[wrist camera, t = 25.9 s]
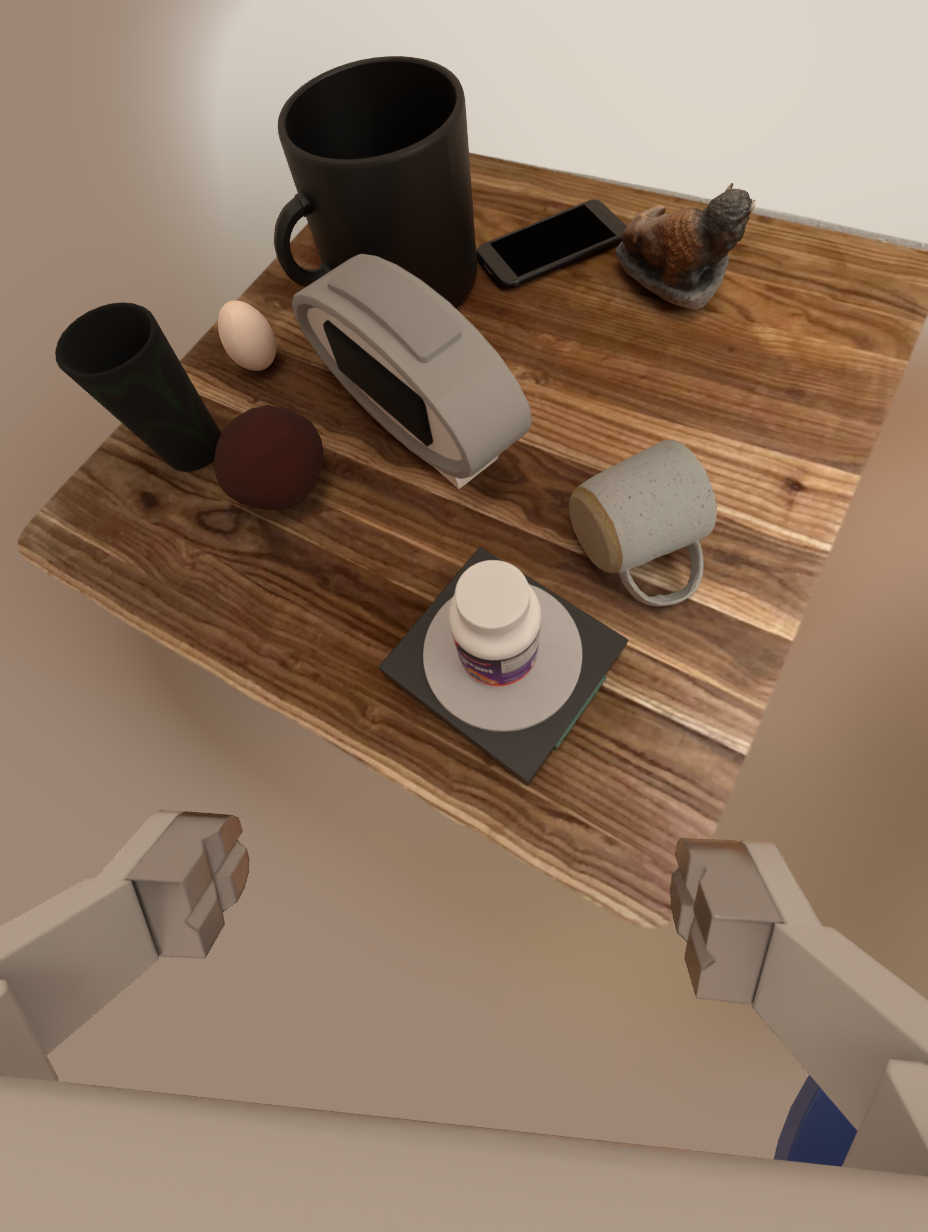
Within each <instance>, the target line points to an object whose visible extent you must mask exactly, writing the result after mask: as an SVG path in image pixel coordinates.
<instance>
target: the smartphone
mask: <svg viewBox="0 0 928 1232" xmlns="http://www.w3.org/2000/svg"><path fill="white" fill-rule="evenodd" d="M626 227H627V226H626V225H625V224H624V223H623V222H622V221H621V220H620V219H619V218H618V217H617V216H615V215H614V214H613V213H612V212H611V211H610V210H609V209H608V208H607V207H606V206H605V205H604V204H603V203H602V202H600V201H599V200H589V201H586V202H584V203H582V204H579V205H577V206H574V207H572V208H569V209H567V210H565V211H562V212H560V213H557V214H555V215H552V216H550V217H548V218H545V219H543V220H540V221H538V222H535V223H533V224H531V225H528V226H526V227H523V228H521V229H518V230H516V231H514V232H511V233H509V234H506V235H504V236H501V237H499V238H497V239H494V240H492V241H489V242H487V243H485V244H482V245H481V246H480V247H479V248H478V249H477V253H476V254H477V258H478V259H479V260H480V262H481V263H482V264H483V265H484V267H485V268H486V269H487V270H488V272H489V273H490V274H491V275H492V277H493V278H494V279H495V280H496V282H497V283H498V284H499V285H500V286H502V287H504V288H512V287H515V286H518V285H520V284H523V283H525V282H527V281H530V280H532V279H534V278H537V277H539V276H542V275H544V274H546V273H549V272H551V271H553V270H556V269H558V268H561V267H563V266H565V265H568V264H570V263H572V262H575V261H577V260H580V259H582V258H584V257H587V256H589V255H591V254H594V253H596V252H599V251H601V250H603V249H606V248H608V247H610V246H613V245H615V244H617V243H620V242H622V241H623V240H622V239H623V231H624V230H625V229H626Z"/></svg>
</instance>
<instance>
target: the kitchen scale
mask: <svg viewBox="0 0 928 1232" xmlns="http://www.w3.org/2000/svg"><path fill="white" fill-rule="evenodd" d="M488 560H499V561H502V560H501V559H499V558H497V557H496V556H494V555H493V554H491V553H489V552H488V551H486V550H485V549H483V548H481V547H479V548H478V550H477V551H476V552H475V553H474V554H473V555H472V557H471V558H470V559H469V560H468V561H467V563H466V564H465V565H464V566H463V567H462V568H461V570H460V571H459V572H458V573H457V574H456V576H455V577H454V578H453V579H452V580H451V582H450V583H449V584H448V585H447V586H446V587H445V589H444V590H443V591H442V592H441V593H440V595H439V596H438V597H437V598H436V599H435V601H434V602H433V603H432V604H431V605H430V606H429V608H428V609H427V610H426V611H425V612H424V614H423V615H422V616H421V617H420V618H419V620H418V621H417V622H416V623H415V624H414V625H413V627H412V628H411V629H410V630H409V631H408V633H407V634H406V635H405V636H404V637H403V638H402V640H401V641H400V642H399V643H398V644H397V646H396V647H395V648H394V649H393V650H392V652H391V653H390V654H389V655H388V656H387V657H386V659H385V660H384V661H383V662H382V663H381V665H380V666H379V669H380V670H381V671H382V673H383V674H384V675H385V676H386V677H387V678H388V679H390V680H391V681H392V682H394V683H395V684H396V685H397V686H399V687H400V688H401V689H403V690H404V691H405V692H407V693H408V694H409V695H410V696H412V697H413V698H414V699H416V700H417V701H418V702H419V703H421V704H422V705H423V706H425V707H426V708H427V709H429V710H430V711H431V712H432V713H434V714H435V715H436V716H438V717H439V718H440V719H441V720H443V721H444V722H445V723H447V724H448V725H449V726H451V727H452V728H453V729H454V730H456V731H457V732H458V733H460V734H461V735H462V736H463V737H465V738H466V739H467V740H469V741H470V742H471V743H473V744H474V745H475V746H476V747H478V748H479V749H480V750H482V751H483V752H484V753H485V754H487V755H488V756H489V757H491V758H492V759H493V760H495V761H496V762H497V763H498V764H500V765H501V766H502V767H504V768H505V769H506V770H507V771H509V772H510V773H511V774H513V775H514V776H515V777H517V778H518V779H519V780H520V781H522V782H523V783H524V784H526V785H527V786H528V785H529V784H530V782H531V781H532V779H533V778H534V776H535V775H536V774H537V772H538V771H539V769H540V768H541V766H542V765H543V764H544V762H545V761H546V759H547V758H548V756H549V755H550V754H551V752H552V751H553V749H554V750H557V749H558V747H559V746H560V744H561V743H562V741H563V740H564V739H565V737H566V736H567V734H568V733H569V731H570V730H571V729H572V727H573V726H574V724H575V723H576V721H577V720H578V719H579V717H580V716H581V714H582V713H583V711H584V710H585V708H586V707H587V706H588V704H589V703H590V701H591V700H592V698H593V697H594V696H595V694H596V693H597V691H598V690H599V688H600V687H601V686H602V684H603V683H604V681H605V679H606V676H605V675H606V674H607V672H608V671H609V670H610V668H611V667H612V665H613V664H614V662H615V661H616V660H617V658H618V657H619V655H620V654H621V652H622V651H623V649H624V647H625V646H626V644H627V642H628V639H626V638H625V637H623V636H622V635H620V634H618V633H617V632H615V631H614V630H612V629H610V628H609V627H607V626H606V625H604V624H602V623H601V622H599V621H598V620H596V619H595V618H593V617H591V616H590V615H588V614H587V613H585V612H583V611H582V610H580V609H579V608H577V607H575V606H574V605H572V604H571V603H569V602H567V601H566V600H564V599H563V598H561V597H559V596H558V595H556V594H555V593H553V592H552V591H550V590H548V589H547V588H545V587H544V586H542V585H540V584H539V583H537V582H536V581H534V580H532V579H531V578H529V577H528V576H526V575H524V574H523V573H522V574H523V575H524V576H525V578H526V580H527V582H528V585H529V586H530V587H531V588H532V589H533V591H534V592H535V594H536V595H537V597H538V600H539V602H540V606H541V629H540V638H539V646H538V654H537V658H536V662H535V664H534V666H533V668H532V670H531V671H530V673H529V674H528V675H527V676H526V677H525V678H524V679H523V680H521V681H520V682H518V683H516V684H514V685H512V686H509V687H504V688H493V687H488V686H485V685H482V684H480V683H478V682H477V681H475V680H474V679H473V678H471V677H470V676H469V675H468V673H467V672H466V671H465V669H464V668H463V666H462V664H461V661H460V658H459V655H458V652H457V649H456V646H455V643H454V639H453V636H452V633H451V630H450V625H449V607H450V603H451V601H452V598H453V596H454V594H455V589H456V585H457V583H458V580H459V579H460V577H461V576H462V574H463V573H464V572H465V571H466V570H467V569H468V568H470V567H471V566H473V565H475V564H477V563H479V562H482V561H488ZM503 562H504V561H503Z"/></svg>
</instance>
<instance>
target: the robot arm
mask: <svg viewBox="0 0 928 1232" xmlns="http://www.w3.org/2000/svg"><path fill="white" fill-rule="evenodd" d="M241 833H242V828H241V824H240V820H239V818H238V817H236V816H233V815H224V814H211V813H199V812H186V811H185V812H178V811H166V810H160V811H158V812H156V813H154V814H152V815H151V816H150V817H149V818H148V819H147V821H146V822H145V823H144V824H143V825H142V826H141V827H140V829H139V830H138V831H137V832H136V833H135V834H134V835H133V837H132V838H131V839H130V840H129V841H128V842H127V843H126V844H125V845H124V847H123V848H122V849H121V850H120V851H119V852H118V853H117V854H116V856H115V857H114V858H113V859H112V860H111V861H110V862H109V864H108V865H107V866H106V867H105V868H104V869H103V870H102V871H101V872H100V874H99V875H98V876H97V877H96V878H86V879H84V880H83V881H81V882H79V883H77V884H75V885H74V886H72V887H70V888H68V889H67V890H65V891H63V892H61V893H59V894H58V895H56V896H54V897H52V898H50V899H49V900H47V901H45V902H43V903H42V904H40V905H38V906H36V907H34V908H33V909H31V910H29V911H27V912H25V913H24V914H22V915H20V916H18V917H16V918H15V919H13V920H11V921H9V922H7V923H6V924H4V925H2V926H0V1232H928V1000H926V999H925V998H924V997H923V996H921V995H920V994H919V993H917V992H916V991H914V990H913V989H912V988H911V987H909V986H908V985H907V984H906V983H904V982H903V981H902V980H900V979H899V978H898V977H896V976H895V975H894V974H893V973H891V972H890V971H888V970H887V969H886V968H885V967H883V966H882V965H881V964H879V963H878V962H877V961H876V960H874V959H873V958H872V957H870V956H869V955H868V954H866V953H865V952H864V951H862V950H861V949H860V948H859V947H857V946H856V945H855V944H853V943H852V942H851V941H850V940H848V939H847V938H845V937H844V936H843V935H841V934H840V933H839V932H838V931H836V930H835V929H834V928H832V927H824V926H822V925H821V923H820V922H819V920H818V918H817V917H816V915H815V913H814V911H813V909H812V908H811V906H810V904H809V902H808V901H807V899H806V897H805V895H804V894H803V892H802V890H801V889H800V887H799V885H798V883H797V881H796V880H795V878H794V876H793V874H792V873H791V871H790V869H789V867H788V866H787V864H786V862H785V861H784V859H783V857H782V855H781V854H780V852H779V850H778V848H777V847H776V846H775V845H774V844H773V843H772V842H767V841H742V840H741V841H737V840H715V839H692V838H680V839H679V841H678V843H677V847H676V852H675V856H676V859H677V862H678V865H679V868H678V869H677V870H676V871H675V872H674V873H673V874H672V879H671V887H670V893H671V908H672V913H673V919H674V923H675V925H676V930H677V933H678V934H679V935H680V936H681V937H682V938H683V939H684V940H685V941H686V942H687V947H686V952H685V961H686V964H687V968H688V971H689V974H690V978H691V981H692V985H693V988H694V991H695V995H696V998H697V999H706V1000H715V1001H724V1002H732V1003H742V1004H751V1005H753V1007H752V1008H753V1009H754V1010H755V1011H756V1012H757V1014H758V1015H759V1016H760V1017H761V1018H762V1020H763V1021H764V1022H765V1023H766V1024H767V1025H768V1027H769V1028H770V1029H771V1030H772V1031H773V1033H774V1034H775V1035H776V1036H777V1037H778V1038H779V1039H780V1041H781V1042H782V1043H783V1044H784V1045H785V1047H786V1048H787V1049H788V1050H789V1051H790V1052H791V1054H792V1055H793V1056H794V1057H795V1058H796V1059H797V1061H798V1062H799V1063H800V1064H801V1065H802V1067H803V1068H804V1069H805V1070H806V1071H807V1072H808V1074H809V1075H810V1076H811V1077H812V1078H813V1079H814V1081H815V1082H816V1083H817V1084H818V1085H819V1086H820V1088H821V1089H822V1090H823V1091H824V1092H825V1094H826V1095H827V1096H828V1097H829V1098H830V1099H831V1101H832V1102H833V1103H834V1104H835V1105H836V1106H837V1108H838V1109H839V1110H840V1111H841V1112H842V1113H843V1115H844V1116H845V1117H846V1118H847V1119H848V1120H849V1122H850V1123H851V1124H852V1125H853V1126H854V1128H855V1129H856V1130H857V1133H856V1136H855V1138H854V1140H853V1142H852V1145H851V1147H850V1149H849V1151H848V1154H847V1156H846V1158H845V1160H844V1163H843V1165H842V1167H839V1166H829V1165H820V1164H811V1163H802V1162H793V1161H784V1160H774V1159H765V1158H756V1157H755V1158H754V1157H746V1156H738V1155H728V1154H719V1153H710V1152H701V1151H692V1150H682V1149H673V1148H664V1147H655V1146H646V1145H636V1144H627V1143H618V1142H609V1141H600V1140H591V1139H581V1138H573V1137H563V1136H554V1135H544V1134H536V1133H526V1132H517V1131H508V1130H499V1129H490V1128H482V1127H472V1126H463V1125H454V1124H445V1123H435V1122H426V1121H418V1120H408V1119H398V1118H388V1117H379V1116H371V1115H361V1114H352V1113H343V1112H334V1111H325V1110H315V1109H306V1108H296V1107H288V1106H279V1105H269V1104H260V1103H250V1102H242V1101H232V1100H223V1099H214V1098H205V1097H195V1096H186V1095H176V1094H168V1093H159V1092H150V1091H140V1090H132V1089H122V1088H113V1087H104V1086H95V1085H86V1084H77V1083H67V1082H58V1076H57V1075H56V1073H55V1071H54V1069H53V1067H52V1065H51V1063H50V1062H49V1060H48V1058H47V1055H48V1054H49V1053H50V1052H51V1051H52V1050H54V1048H56V1047H57V1046H58V1045H59V1044H61V1043H62V1042H63V1041H64V1040H65V1039H66V1038H68V1037H69V1036H70V1035H71V1034H72V1033H73V1032H75V1031H76V1030H77V1029H78V1028H79V1027H80V1026H82V1025H83V1024H84V1023H85V1022H86V1021H87V1020H89V1019H90V1018H91V1017H92V1016H93V1015H94V1014H96V1013H97V1012H98V1011H99V1010H100V1009H101V1008H103V1007H104V1006H105V1005H106V1004H107V1003H108V1002H110V1001H111V1000H112V999H113V998H114V997H116V996H117V995H118V994H119V993H120V992H121V991H123V990H124V989H125V988H126V987H127V986H128V985H130V984H131V983H132V982H133V981H134V980H135V979H136V978H138V977H139V976H140V975H141V974H142V973H143V972H145V971H146V970H147V969H148V968H149V967H151V966H152V965H153V964H154V963H155V962H156V961H157V960H159V957H158V956H162V957H184V958H203V959H204V958H206V956H207V954H208V953H209V951H210V949H211V947H212V946H213V944H214V942H215V940H216V939H217V937H218V935H219V933H220V931H221V930H222V928H223V926H224V924H225V923H224V917H223V912H224V911H225V910H227V909H228V908H230V907H231V906H232V905H233V904H235V903H236V902H237V901H238V899H239V897H240V896H241V894H242V892H243V890H244V888H245V884H246V881H247V877H248V873H249V856H248V852H247V849H246V848H245V847H244V846H243V845H242V844H241V843H240V842H239V841H238V840H237V839H238V838H239V836H240V834H241Z"/></svg>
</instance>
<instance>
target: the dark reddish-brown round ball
mask: <svg viewBox="0 0 928 1232" xmlns="http://www.w3.org/2000/svg"><path fill="white" fill-rule="evenodd" d="M322 463H323V447H322V442H321V438H320V436H319V434H318V432H317V430H316V429H315V427H314V426H313V424H312V423H311V422H310V421H309V420H307V419H306V418H304V417H302V416H301V415H299V414H297V413H296V412H294V411H292V410H291V409H287V408H281V407H275V406H269V405H266V406H262V407H257V408H252V409H250V410H248V411H246V412H245V413H243V414H241V415H240V416H238V417H236V418H235V419H233V421H232V422H231V423H230V424H229V425H228V426H227V427H226V428H225V429H224V430H223V432H222V434H221V436H220V438H219V440H218V443H217V447H216V451H215V461H214V467H215V473H216V477H217V480H218V482H219V484H220V486H221V488H222V489H223V491H224V492H225V493H226V494H227V495H228V496H229V497H231V498H232V499H234V500H236V501H237V502H239V503H241V504H244V505H246V506H250V507H254V508H261V509H282V508H288V507H291V506H292V505H294V504H296V503H298V502H300V501H302V500H303V499H304V498H305V496H306V495H307V494H308V493H309V492H310V490H311V489H312V488H313V487H314V485H315V483H316V480H317V478H318V475H319V472H320V469H321V466H322Z"/></svg>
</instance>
